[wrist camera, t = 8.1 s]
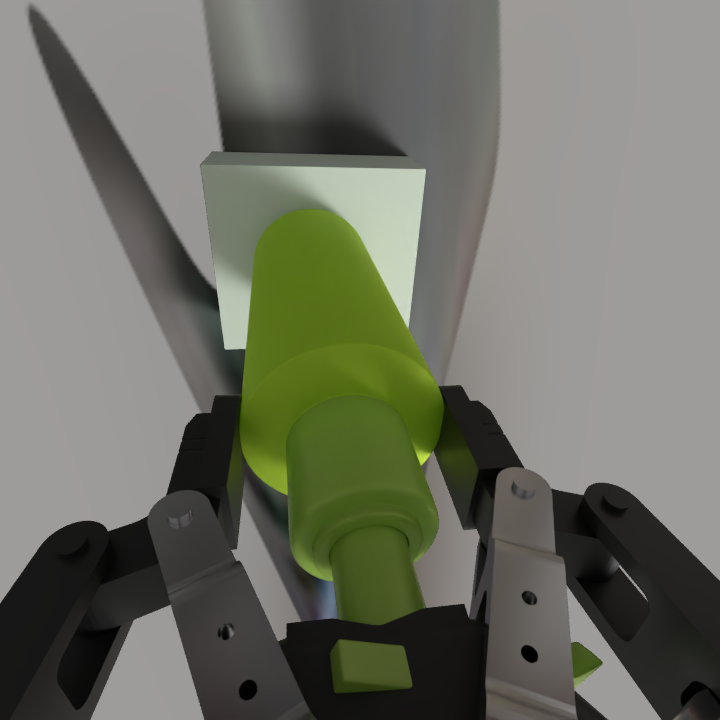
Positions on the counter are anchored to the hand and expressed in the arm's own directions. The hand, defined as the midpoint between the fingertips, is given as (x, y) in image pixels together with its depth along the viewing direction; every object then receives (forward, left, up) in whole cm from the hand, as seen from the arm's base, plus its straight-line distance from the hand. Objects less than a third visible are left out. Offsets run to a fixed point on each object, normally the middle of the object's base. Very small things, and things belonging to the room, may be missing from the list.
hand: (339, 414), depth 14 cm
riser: (0, 0, -17) cm, 17 cm away
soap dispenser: (0, 0, -12) cm, 12 cm away
